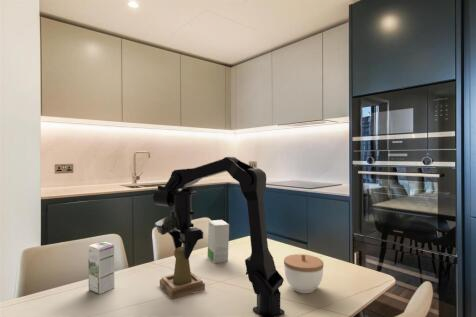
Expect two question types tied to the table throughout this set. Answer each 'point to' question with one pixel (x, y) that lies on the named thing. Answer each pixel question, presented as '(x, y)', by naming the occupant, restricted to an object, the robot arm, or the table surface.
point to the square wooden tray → (181, 286)
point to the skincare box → (218, 241)
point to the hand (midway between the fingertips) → (182, 255)
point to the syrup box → (101, 267)
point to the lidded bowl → (303, 272)
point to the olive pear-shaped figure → (181, 268)
